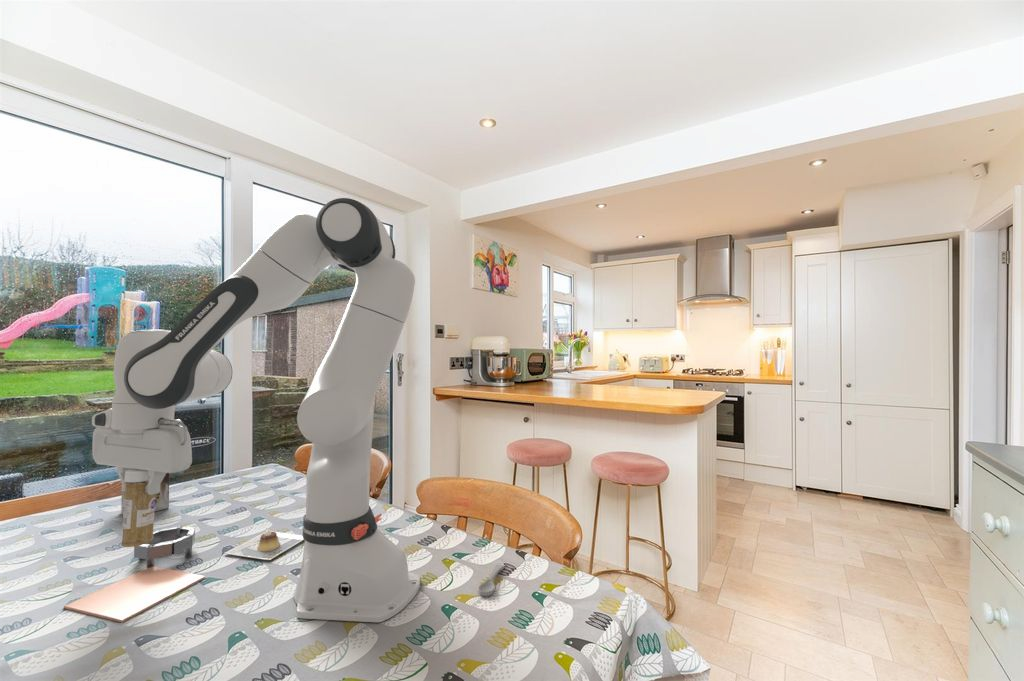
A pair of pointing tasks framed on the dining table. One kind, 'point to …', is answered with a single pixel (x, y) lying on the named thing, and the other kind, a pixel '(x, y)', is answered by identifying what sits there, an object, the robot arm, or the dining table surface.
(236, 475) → the dining table surface
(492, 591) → the spoon
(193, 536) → the ring stand
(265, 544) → the dessert
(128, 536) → the sprinkles bottle
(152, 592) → the copper sheet
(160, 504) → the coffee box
